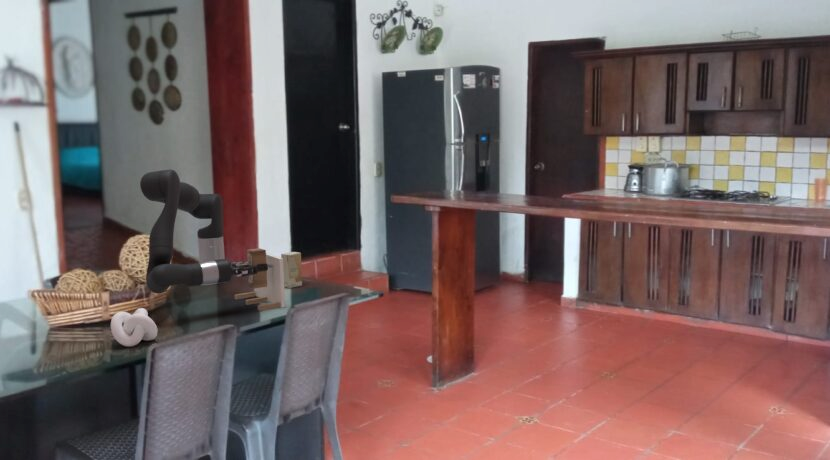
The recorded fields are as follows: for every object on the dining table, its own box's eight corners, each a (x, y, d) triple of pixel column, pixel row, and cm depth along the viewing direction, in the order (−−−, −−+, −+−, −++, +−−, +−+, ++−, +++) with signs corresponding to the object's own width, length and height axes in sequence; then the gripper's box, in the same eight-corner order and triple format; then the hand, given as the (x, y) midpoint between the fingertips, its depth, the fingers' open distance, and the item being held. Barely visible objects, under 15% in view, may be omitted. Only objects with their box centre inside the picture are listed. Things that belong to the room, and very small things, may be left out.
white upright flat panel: (233, 298, 263) (231, 252, 261) (257, 294, 268) (255, 249, 265) (260, 311, 245) (257, 262, 243) (285, 306, 250) (282, 258, 248)
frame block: (248, 286, 251) (246, 249, 249) (261, 284, 253) (260, 248, 252) (253, 288, 247) (252, 251, 245) (267, 286, 250) (265, 250, 248)
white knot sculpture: (112, 339, 219) (110, 308, 217) (157, 333, 223) (154, 303, 222) (112, 350, 208) (109, 318, 207) (158, 344, 212) (156, 313, 211)
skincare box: (290, 288, 276) (288, 255, 274) (281, 287, 279) (280, 254, 277) (303, 285, 281) (301, 252, 279) (294, 283, 284) (293, 251, 282)
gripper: (221, 263, 235) (273, 257, 244) (204, 257, 246) (254, 251, 256) (222, 287, 236) (274, 280, 245) (205, 280, 247) (255, 273, 257)
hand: (263, 265), depth 251 cm, fingers closed on frame block, 4 cm apart
